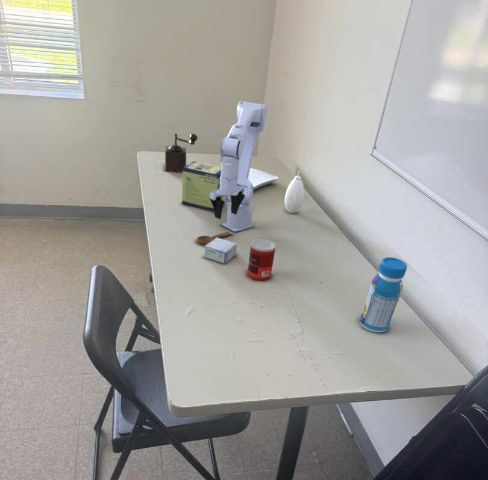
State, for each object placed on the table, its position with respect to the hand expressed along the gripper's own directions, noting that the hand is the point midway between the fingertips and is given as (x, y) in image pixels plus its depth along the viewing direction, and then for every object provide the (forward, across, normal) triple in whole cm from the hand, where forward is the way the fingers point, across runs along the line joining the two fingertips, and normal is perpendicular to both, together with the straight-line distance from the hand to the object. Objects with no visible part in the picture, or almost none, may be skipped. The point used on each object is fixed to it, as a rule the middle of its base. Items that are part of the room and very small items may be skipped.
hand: (226, 215), depth 153 cm
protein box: (+11, +18, +32) cm, 38 cm away
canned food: (+10, -6, -24) cm, 27 cm away
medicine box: (+8, -4, -6) cm, 11 cm away
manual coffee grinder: (+11, +39, +74) cm, 84 cm away
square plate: (+11, +53, +45) cm, 70 cm away
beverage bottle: (+10, 0, -63) cm, 64 cm away
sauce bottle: (+11, +46, +6) cm, 47 cm away
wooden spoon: (+10, -1, +4) cm, 11 cm away
